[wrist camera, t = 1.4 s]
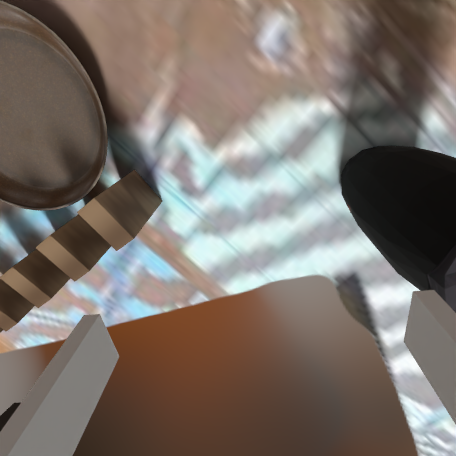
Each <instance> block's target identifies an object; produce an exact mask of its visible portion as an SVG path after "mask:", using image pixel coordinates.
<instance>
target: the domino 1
mask: <svg viewBox="0 0 456 456" xmlns="http://www.w3.org/2000/svg"><path fill="white" fill-rule="evenodd" d="M34 306H35V305H34V304H32V303H31V302H30V301H28V300H27V299H26V298H25V297H23V296H22V295H21V294H20V293H18V292H17V291H16V290H14V289H13V288H12V287H11V286H9V285H8V284H7V283H5V282H4V281H3V280H2V279H0V328H2V329H3V330H5V331H7V330H9V329H10V328H12V327H13V326H14V325H16V324H17V323H18V322H19V321H20V320H21V319H22V318H23V317H24V316H25V315H26V314H27V313H28V312H29V311H30V310H31V309H32V308H33V307H34Z"/></svg>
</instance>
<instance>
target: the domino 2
mask: <svg viewBox="0 0 456 456" xmlns="http://www.w3.org/2000/svg"><path fill="white" fill-rule="evenodd" d="M0 279H2V280H3V281H4V282H5V283H7V284H8V285H9V286H11V287H12V288H13V289H14V290H16V291H17V292H18V293H20V294H21V295H22V296H23V297H25V298H26V299H27V300H28V301H30V302H31V303H32V304H34V305H35V306H36V307H37V308H39V307H40V306H42V305H43V304H45V303H46V302H47V301H49V300H50V299H51V298H52V297H53V296H54V295H55V294H56V293H57V292H58V291H59V290H60V289H61V288H62V287H63V286H64V285H65V283H66V282H67V281H68V280H69V279H70V277H69V276H68V275H67V274H65V273H64V272H63V271H62V270H61V269H60V268H58V267H57V266H56V265H55V264H54V263H53V262H52V261H50V260H49V259H48V258H47V257H46V256H45V255H43V254H42V253H41V252H40V251H39V250H38V249H36V250H34V251H33V252H32V253H30V254H29V255H28V256H26V257H25V258H24V259H22V260H21V261H20V262H18V263H17V264H16V265H14V266H13V267H12V268H11V269H9V270H8V271H7V272H6V273H5V274H4V275H2V276H1V277H0Z"/></svg>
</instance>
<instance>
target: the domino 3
mask: <svg viewBox="0 0 456 456" xmlns="http://www.w3.org/2000/svg"><path fill="white" fill-rule="evenodd" d="M110 247H111V245H110V244H109V243H108V242H107V241H106V240H105V239H104V238H103V237H102V236H101V235H100V234H99V233H98V232H97V231H96V230H95V229H94V228H92V227H91V226H90V225H89V224H88V223H87V222H86V221H85V220H84V219H83V218H82V217H81V216H80V215H79V214H78V215H77V216H76V217H74V218H73V219H72V220H70V221H69V222H67V223H66V224H65V225H63V226H62V227H61V228H59V229H58V230H57V231H55V232H54V233H52V234H51V235H50V236H49V237H47V238H46V239H45V240H44V241H43V242H41V243H40V244H39V245H38V246H37V247H36V249H38V250H39V251H40V252H41V253H42V254H43V255H45V256H46V257H47V258H48V259H49V260H50V261H52V262H53V263H54V264H55V265H56V266H57V267H58V268H60V269H61V270H62V271H63V272H64V273H65V274H67V275H68V276H69V277H70V278H71V279H72V280H74V281H76V280H78V279H79V278H80V277H82V276H83V275H84V274H86V273H87V272H89V271H90V270H91V269H92V267H93V266H94V265H95V264H96V263H97V262H98V261H99V259H100V258H101V257H102V256H103V255H104V254H105V253H106V251H107V250H108V249H109V248H110Z"/></svg>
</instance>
